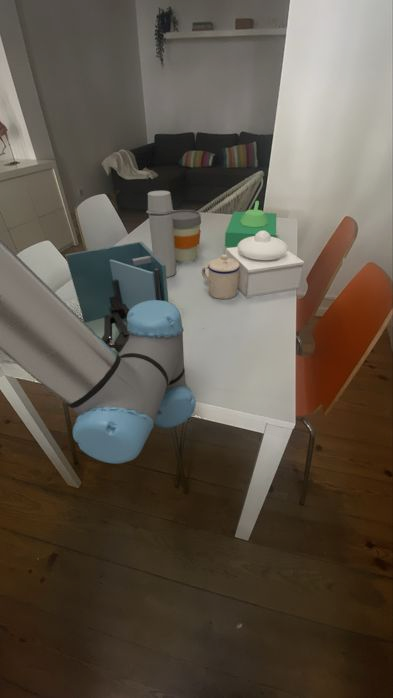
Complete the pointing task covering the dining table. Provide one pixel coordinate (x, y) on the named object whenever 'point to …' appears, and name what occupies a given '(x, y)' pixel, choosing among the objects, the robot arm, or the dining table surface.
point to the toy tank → (249, 225)
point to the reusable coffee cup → (186, 234)
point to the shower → (110, 279)
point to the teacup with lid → (222, 277)
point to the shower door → (132, 284)
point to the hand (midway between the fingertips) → (113, 301)
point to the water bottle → (162, 228)
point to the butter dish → (265, 265)
